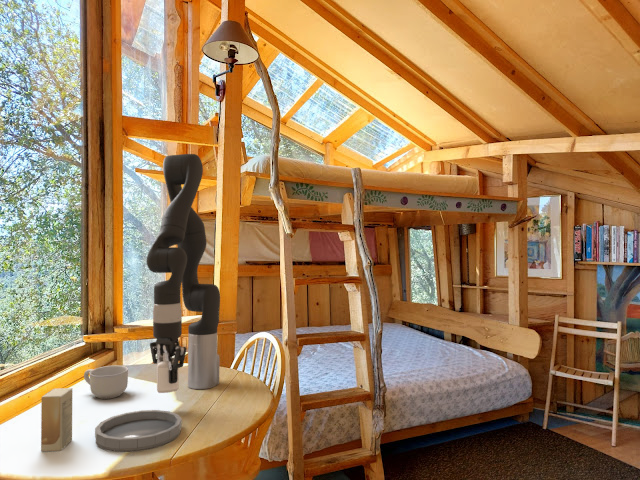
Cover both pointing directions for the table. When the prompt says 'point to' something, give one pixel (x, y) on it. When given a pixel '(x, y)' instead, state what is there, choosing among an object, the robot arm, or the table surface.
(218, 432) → the table surface
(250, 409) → the table surface
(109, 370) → the teacup
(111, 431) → the round tray
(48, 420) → the skincare box
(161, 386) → the eye dropper bottle
